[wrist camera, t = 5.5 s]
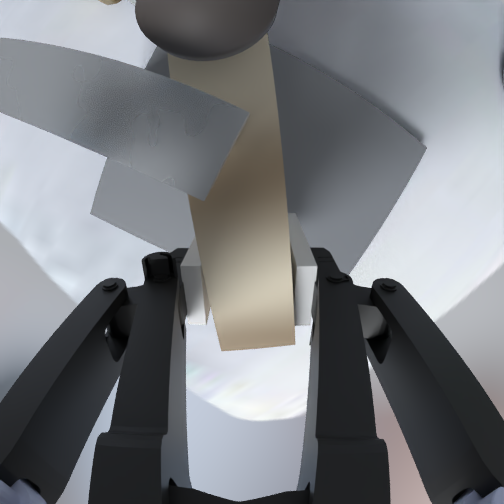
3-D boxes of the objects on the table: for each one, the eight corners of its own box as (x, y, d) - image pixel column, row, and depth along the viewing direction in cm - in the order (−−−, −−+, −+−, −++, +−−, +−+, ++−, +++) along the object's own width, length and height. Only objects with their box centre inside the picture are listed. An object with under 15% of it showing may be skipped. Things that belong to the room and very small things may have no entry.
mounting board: (182, 15, 14) (169, -4, 10) (419, 146, 17) (447, 152, 14) (96, 209, 19) (72, 226, 16) (315, 309, 23) (323, 338, 20)
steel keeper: (145, 77, 15) (0, 37, 4) (249, 121, 17) (249, 112, 5) (132, 104, 16) (-22, 103, 4) (235, 149, 18) (203, 201, 6)
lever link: (188, 33, 11) (134, -36, 4) (260, 23, 11) (269, -60, 4) (224, 279, 17) (210, 384, 10) (287, 272, 17) (309, 376, 10)
